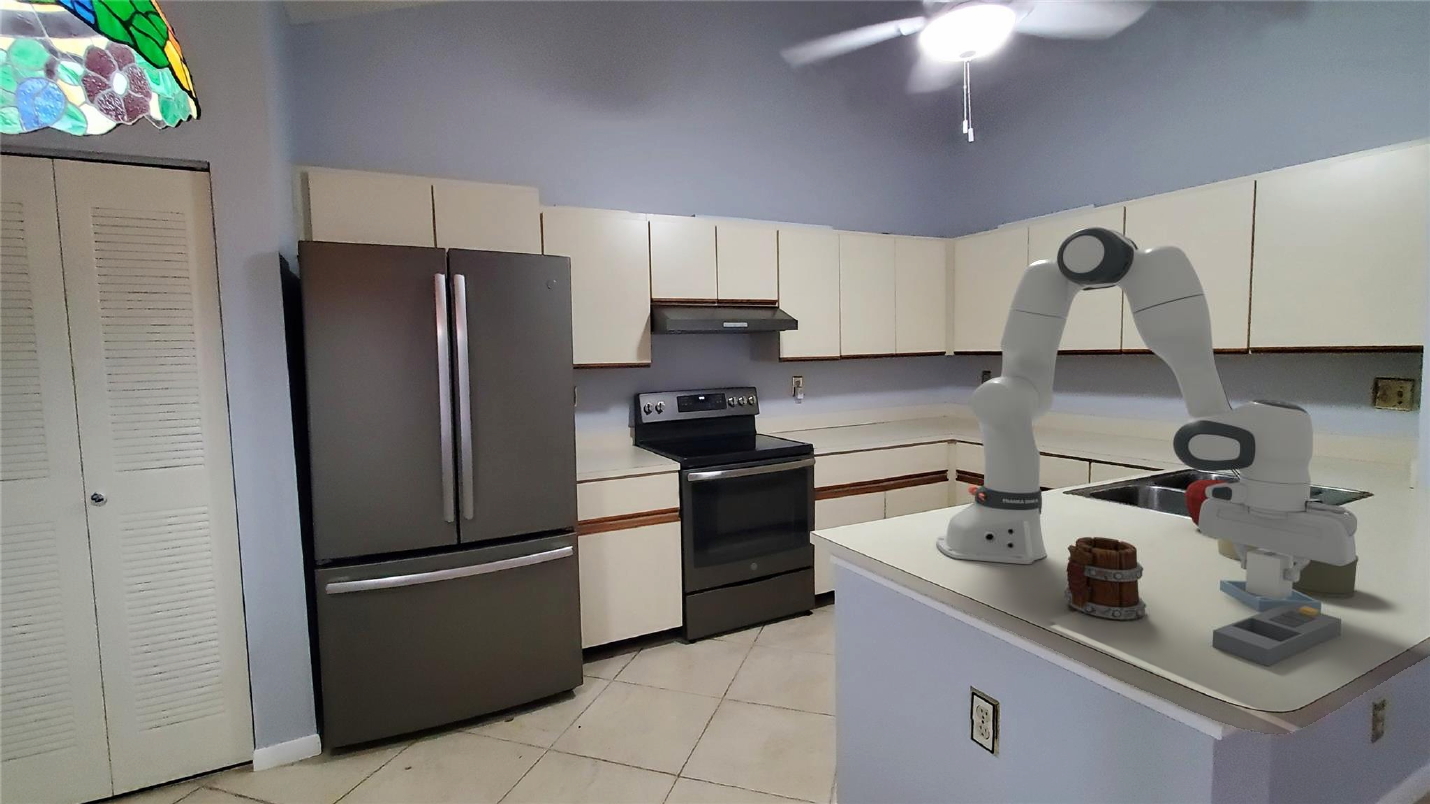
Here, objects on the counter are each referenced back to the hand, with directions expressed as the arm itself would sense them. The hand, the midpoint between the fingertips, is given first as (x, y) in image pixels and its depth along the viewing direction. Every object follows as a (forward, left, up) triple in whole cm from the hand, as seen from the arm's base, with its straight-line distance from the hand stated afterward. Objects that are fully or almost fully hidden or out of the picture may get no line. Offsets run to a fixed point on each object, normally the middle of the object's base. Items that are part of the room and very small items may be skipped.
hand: (1269, 574), depth 104 cm
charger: (0, 0, -3) cm, 3 cm away
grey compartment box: (-8, -14, -5) cm, 17 cm away
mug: (-30, -6, -6) cm, 31 cm away
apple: (+20, +45, -6) cm, 50 cm away
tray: (0, 0, -5) cm, 5 cm away
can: (+14, +10, -6) cm, 18 cm away
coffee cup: (+14, +27, -6) cm, 31 cm away
